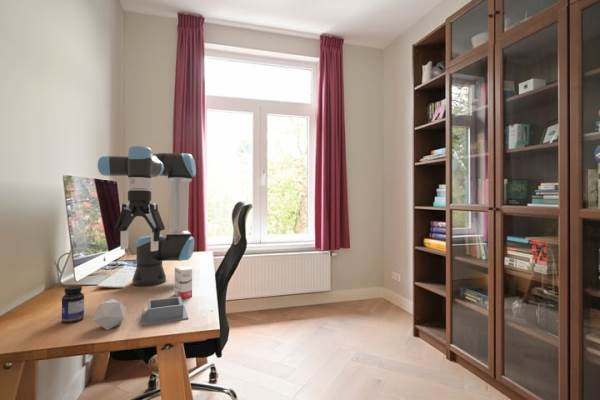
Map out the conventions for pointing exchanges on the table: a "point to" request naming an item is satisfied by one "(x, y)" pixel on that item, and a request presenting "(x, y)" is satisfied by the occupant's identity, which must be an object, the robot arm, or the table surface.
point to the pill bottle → (72, 304)
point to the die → (110, 314)
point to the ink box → (183, 282)
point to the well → (164, 311)
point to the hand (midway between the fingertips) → (139, 250)
